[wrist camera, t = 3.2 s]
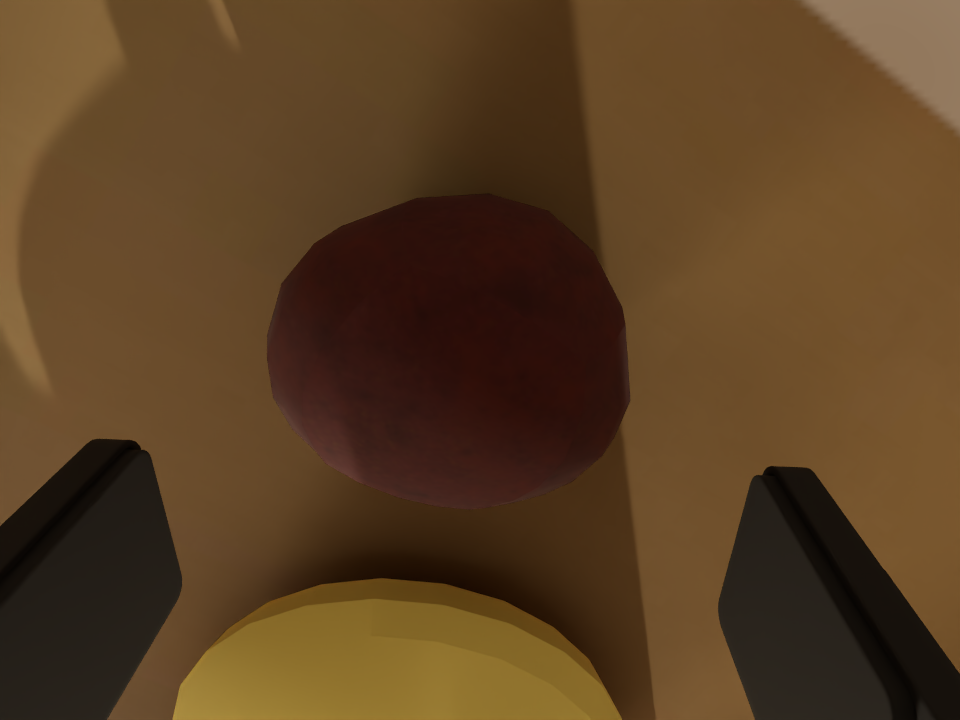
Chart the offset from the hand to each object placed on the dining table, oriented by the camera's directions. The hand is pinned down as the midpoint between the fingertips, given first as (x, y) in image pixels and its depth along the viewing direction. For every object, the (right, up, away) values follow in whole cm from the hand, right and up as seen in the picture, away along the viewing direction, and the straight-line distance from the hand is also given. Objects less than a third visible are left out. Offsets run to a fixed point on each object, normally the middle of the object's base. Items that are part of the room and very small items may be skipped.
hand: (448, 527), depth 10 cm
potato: (0, +4, +7) cm, 9 cm away
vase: (-2, -10, +15) cm, 18 cm away
